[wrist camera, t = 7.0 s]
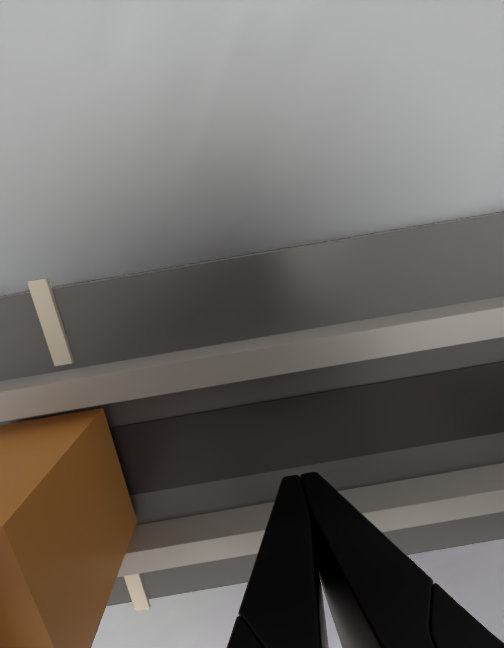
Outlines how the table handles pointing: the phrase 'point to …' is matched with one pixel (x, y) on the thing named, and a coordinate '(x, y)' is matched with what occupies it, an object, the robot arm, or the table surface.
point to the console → (281, 391)
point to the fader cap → (59, 529)
